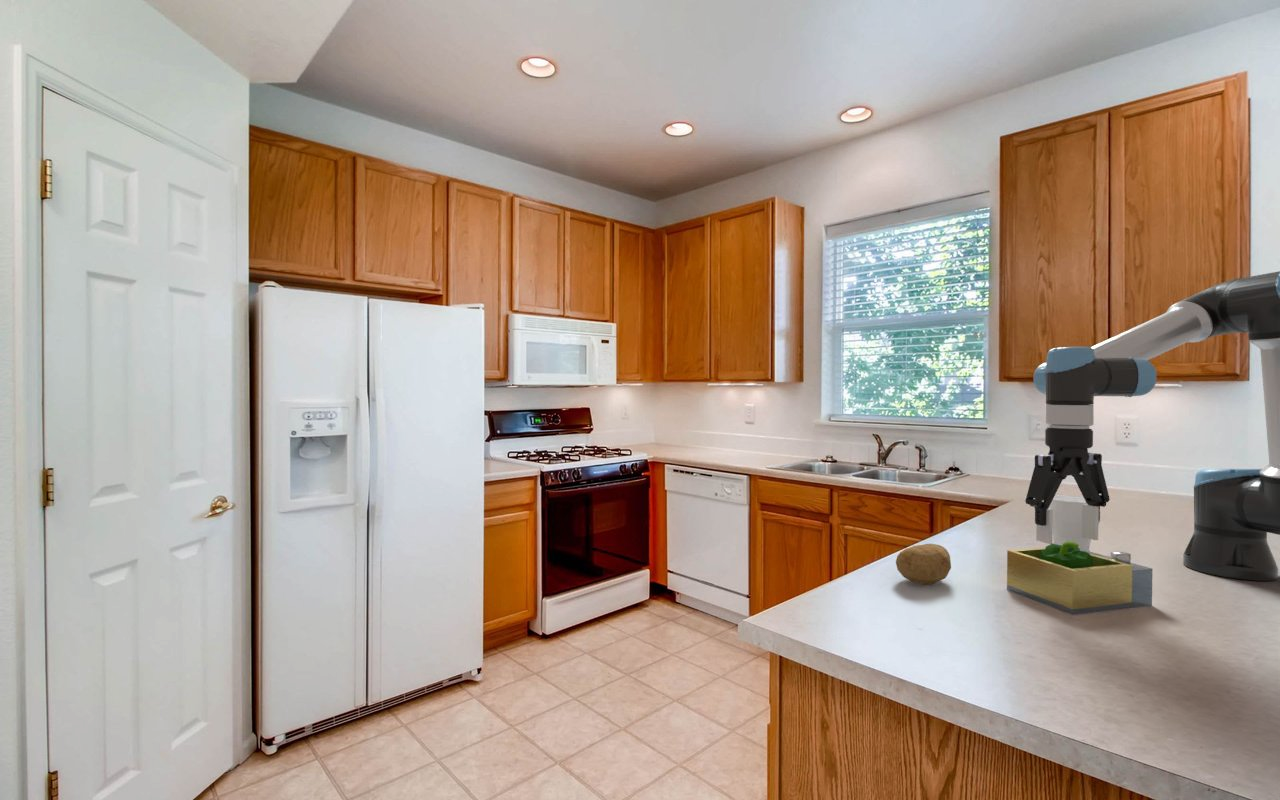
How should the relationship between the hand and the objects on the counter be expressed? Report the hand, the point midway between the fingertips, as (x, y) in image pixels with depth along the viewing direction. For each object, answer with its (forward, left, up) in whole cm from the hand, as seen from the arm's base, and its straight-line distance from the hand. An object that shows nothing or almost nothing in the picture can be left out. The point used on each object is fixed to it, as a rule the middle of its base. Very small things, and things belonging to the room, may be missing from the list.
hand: (1067, 540), depth 116 cm
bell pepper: (0, 0, -10) cm, 10 cm away
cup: (-24, -19, -12) cm, 33 cm away
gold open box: (-2, 0, -11) cm, 12 cm away
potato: (+20, -15, -12) cm, 28 cm away
